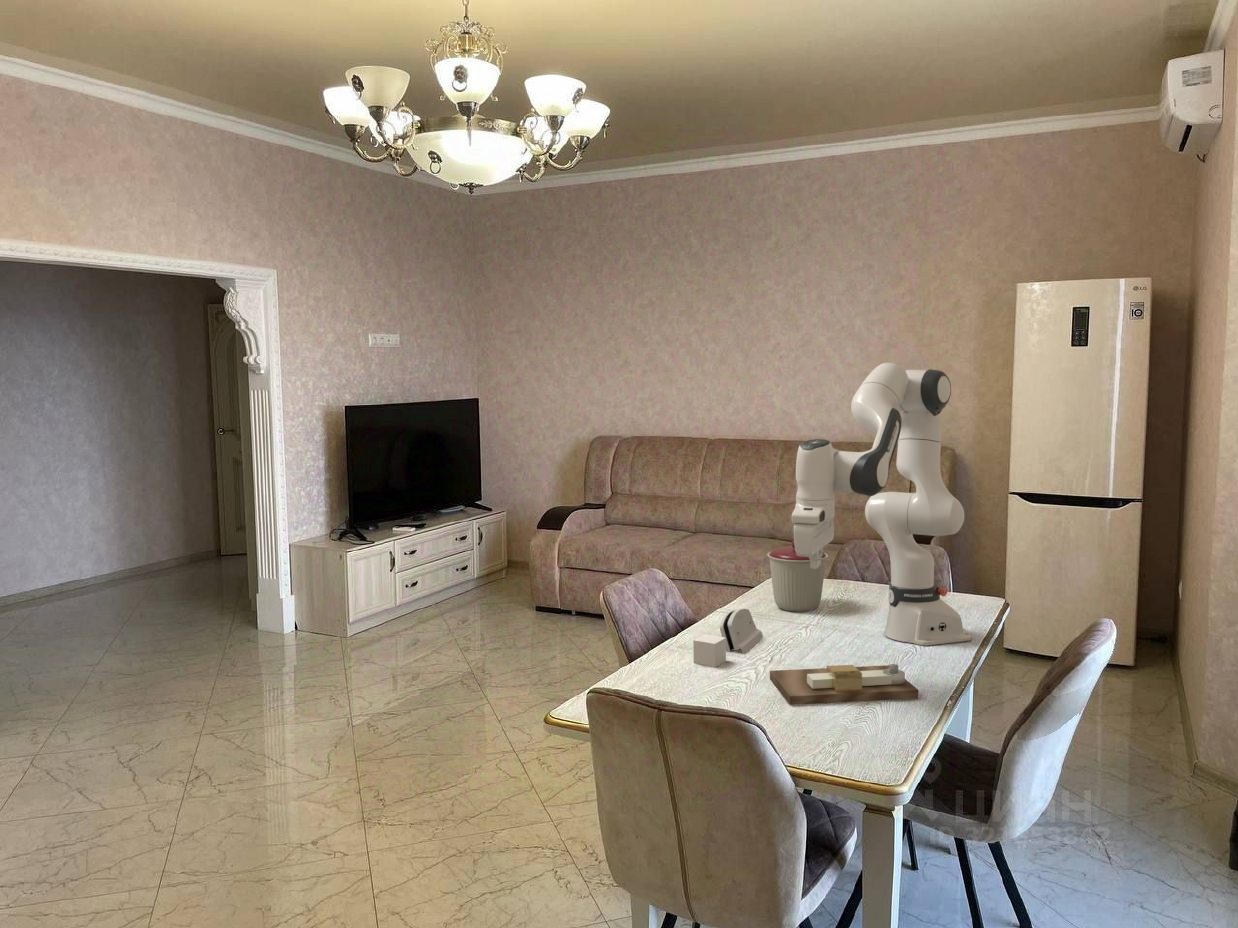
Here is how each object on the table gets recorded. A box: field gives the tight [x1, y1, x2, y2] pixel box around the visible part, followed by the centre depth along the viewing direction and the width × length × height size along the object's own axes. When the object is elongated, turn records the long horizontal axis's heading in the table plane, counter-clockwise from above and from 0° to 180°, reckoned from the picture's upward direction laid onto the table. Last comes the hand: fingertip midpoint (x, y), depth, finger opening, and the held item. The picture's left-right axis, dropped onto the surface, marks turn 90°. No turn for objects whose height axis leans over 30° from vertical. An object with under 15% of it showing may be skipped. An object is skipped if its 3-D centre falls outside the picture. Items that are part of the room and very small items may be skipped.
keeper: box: [826, 664, 862, 692], centre depth 205 cm, size 6×6×4 cm
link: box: [807, 663, 906, 689], centre depth 207 cm, size 22×5×4 cm, turn 96°
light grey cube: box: [692, 633, 727, 668], centre depth 230 cm, size 6×6×6 cm
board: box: [769, 664, 920, 706], centre depth 210 cm, size 29×17×2 cm, turn 95°
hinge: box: [719, 608, 764, 655], centre depth 245 cm, size 17×5×10 cm, turn 154°
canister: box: [766, 539, 829, 613], centre depth 279 cm, size 18×18×21 cm
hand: (815, 567), depth 217 cm, fingers closed
